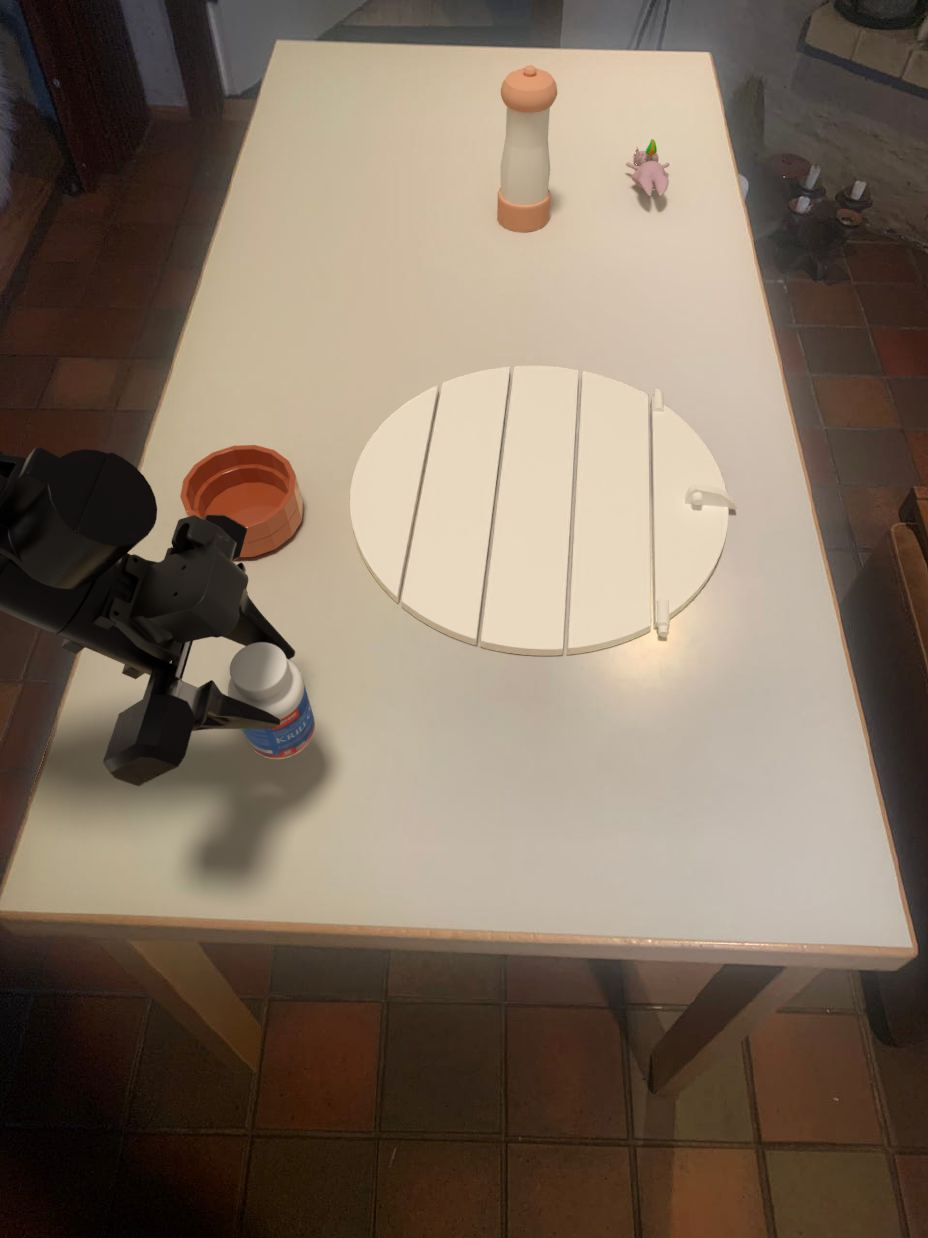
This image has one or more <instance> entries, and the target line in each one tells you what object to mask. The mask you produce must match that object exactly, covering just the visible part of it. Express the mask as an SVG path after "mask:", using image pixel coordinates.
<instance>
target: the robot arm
mask: <svg viewBox="0 0 928 1238" xmlns="http://www.w3.org/2000/svg"><path fill="white" fill-rule="evenodd" d="M157 516H158V505H157V499H156V496H155V493H154V491H153V488H152V486H151V484H150V483H149V481H148V480H147V479H146V477H145V475H144V474H142V472H141V471H140V470H139V469H138V468H137V467H136V466H135V465H133V464H132V463H131V462H130V461H128V460H127V459H126V458H124V457H123V456H121V455H118V454H116V453H114V452H109V453H108V452H105V451H101V450H98V449H88V448H87V449H86V448H83V449H77V450H72V451H69V452H68V453H66V454H64V455H62V456H58V455H56V454H54V453H53V452H51V451H49V450H47V449H45V448H43V447H42V446H35V447H34V449H32V451H31V452H30V453H29V455H28V456H27V458H26V457H23V456H16V455H9V454H5V453H4V452H3V450H0V612H3V613H5V614H7V615H9V616H12V617H14V618H17V619H19V620H20V621H21V620H22V621H24V622H26V623H28V624H30V625H33V626H35V627H37V628H40V629H42V630H45V631H47V632H49V633H51V634H53V635H56V636H58V637H60V638H63V642H62V644H61V647H60V648H61V649H64V650H65V651H68V652H71V653H73V654H75V655H77V654H79V653H80V652H81V651H83V650H84V649H88V650H90V651H93V652H95V653H97V654H100V655H102V656H104V657H106V658H109V659H111V660H113V661H115V662H118V663H121V664H123V665H124V666H123V669H122V671H121V674H122V675H125V676H127V677H130V678H132V679H134V680H137V679H139V678H140V677H141V676H143V675H147V676H149V678H148V681H147V684H146V688H145V691H144V694H143V698H142V699H141V700H138V701H137V702H136V703H134V704H132V705H131V706H129V707H127V708H126V709H124V710H123V711H121V712H119V713H118V715H117V718H116V721H115V724H114V727H113V731H112V733H111V736H110V739H109V742H108V745H107V748H106V751H105V754H104V756H103V760H102V763H103V765H104V766H105V768H106V769H107V770H108V772H109V774H111V776H112V777H113V778H114V779H116V780H119V781H122V782H124V783H128V784H131V785H133V786H136V787H140V786H142V785H145V784H147V783H148V782H150V781H153V780H154V779H157V778H159V777H160V776H163V775H165V774H167V773H169V772H171V771H173V770H174V769H177V768H179V766H180V765H181V763H182V762H183V760H184V758H185V757H186V755H187V751H188V748H189V743H190V740H191V736H192V733H193V732H199V731H208V730H242V729H273V728H275V727H277V726H279V725H280V723H281V720H280V719H279V718H277V717H275V716H273V715H272V714H270V713H268V712H266V711H264V710H262V709H259V708H257V707H254V706H252V705H249V704H247V703H244V702H242V701H239V700H237V699H234V698H231V697H229V696H228V695H227V694H224V693H223V692H222V691H221V690H220V688H219V687H218V684H216V683H215V681H214V680H212V679H210V680H209V681H207V682H205V683H204V684H202V685H200V686H198V687H197V686H195V685H193V684H190V683H188V682H186V681H184V680H183V677H184V673H185V669H186V666H187V663H188V659H189V656H190V653H191V651H192V650H191V649H192V646H193V642H195V641H199V640H203V639H207V638H215V639H217V638H225V639H227V640H229V641H232V642H234V643H237V644H239V645H242V646H244V647H246V646H248V645H250V644H253V643H259V642H265V643H270V644H273V645H276V646H277V647H279V648H280V649H281V650H282V651H283V652H284V654H285V656H286V658H287V659H289V660H291V659H293V658H294V657H295V655H296V650H295V649H294V648H293V647H292V646H291V644H290V643H289V642H288V641H287V640H286V639H285V638H284V637H283V636H282V635H281V633H280V632H279V631H278V630H277V629H276V628H275V627H274V626H273V624H271V623H270V621H268V619H267V618H266V617H265V616H264V615H263V614H262V612H261V610H259V609H258V607H257V606H256V605H255V604H254V601H253V600H252V599H251V598H250V596H249V593H248V590H247V588H248V584H249V575H248V574H247V573H246V572H247V569H246V566H245V564H244V562H238V563H237V564H236V563H235V561H236V560H238V559H239V558H241V557H240V554H241V550H242V547H243V543H244V539H245V536H246V532H247V528H246V527H245V526H244V525H242V524H240V523H239V522H237V521H235V520H233V519H232V518H230V517H228V516H227V515H217V514H212V515H206V516H205V517H204V518H203V519H202V518H200V517H198V516H196V515H192V516H189V517H188V516H185V517H182V518H180V519H178V520H177V523H176V526H175V529H174V532H173V535H172V538H171V541H170V543H171V547H167V549H166V552H165V555H164V559H163V560H161V561H154V560H149V559H146V558H144V557H141V556H140V555H138V554H133V553H132V554H130V553H129V552H130V551H132V549H134V548H135V547H136V546H138V544H139V543H141V542H142V541H143V540H144V539H145V538H146V537H148V536H149V534H150V533H151V531H152V530H153V529H154V528H155V525H156V522H157Z"/></svg>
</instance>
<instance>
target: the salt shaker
mask: <svg viewBox="0 0 928 1238" xmlns="http://www.w3.org/2000/svg"><path fill="white" fill-rule="evenodd" d="M557 96H558V85H557V82H556V80H555V78H554V77H553V76H552V74H551V73H549V72H548V71H545V70H543V69H540V68H537V67H536V66H534V65H532V64H529V65H526V66H525V67H523V68H519V69H516V70H514V71H511V72H509V73H508V74H507V75H506V77H505V78H504V80H503V81H502V83H501V87H500V97H501V99H502V102H503V104H504V106H506V118H505V119H506V120H505V121H506V122H505V139H504V145H503V149H502V150H503V151H502V155H501V160H500V161H501V162H500V187H499V189H498V191H497V205H496V206H497V207H496V211H497V212H496V214H497V216H496V220H497V222H498V223H499V225H501V226H502V227H503V228H505V229H507V230H509V231H512V232H517V233H529V232H535V231H538V230H540V229H543V228H544V227H545V226H546V225H547V224H548V222H549V221H550V208H551V191H550V189H549V187H550V175H551V160H550V149H549V148H550V147H549V130H550V129H549V128H550V111H551V110H550V109H551V107H552V106H553V104H554V102H555V101H556V99H557Z"/></svg>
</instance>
